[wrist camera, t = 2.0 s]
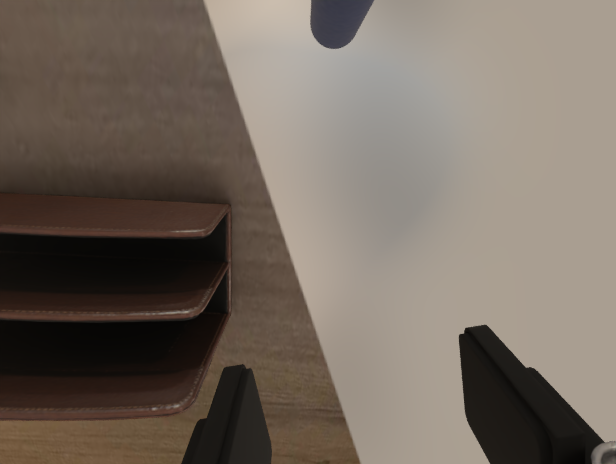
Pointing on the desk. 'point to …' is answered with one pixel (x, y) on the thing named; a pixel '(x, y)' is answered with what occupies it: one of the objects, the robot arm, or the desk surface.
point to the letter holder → (109, 305)
